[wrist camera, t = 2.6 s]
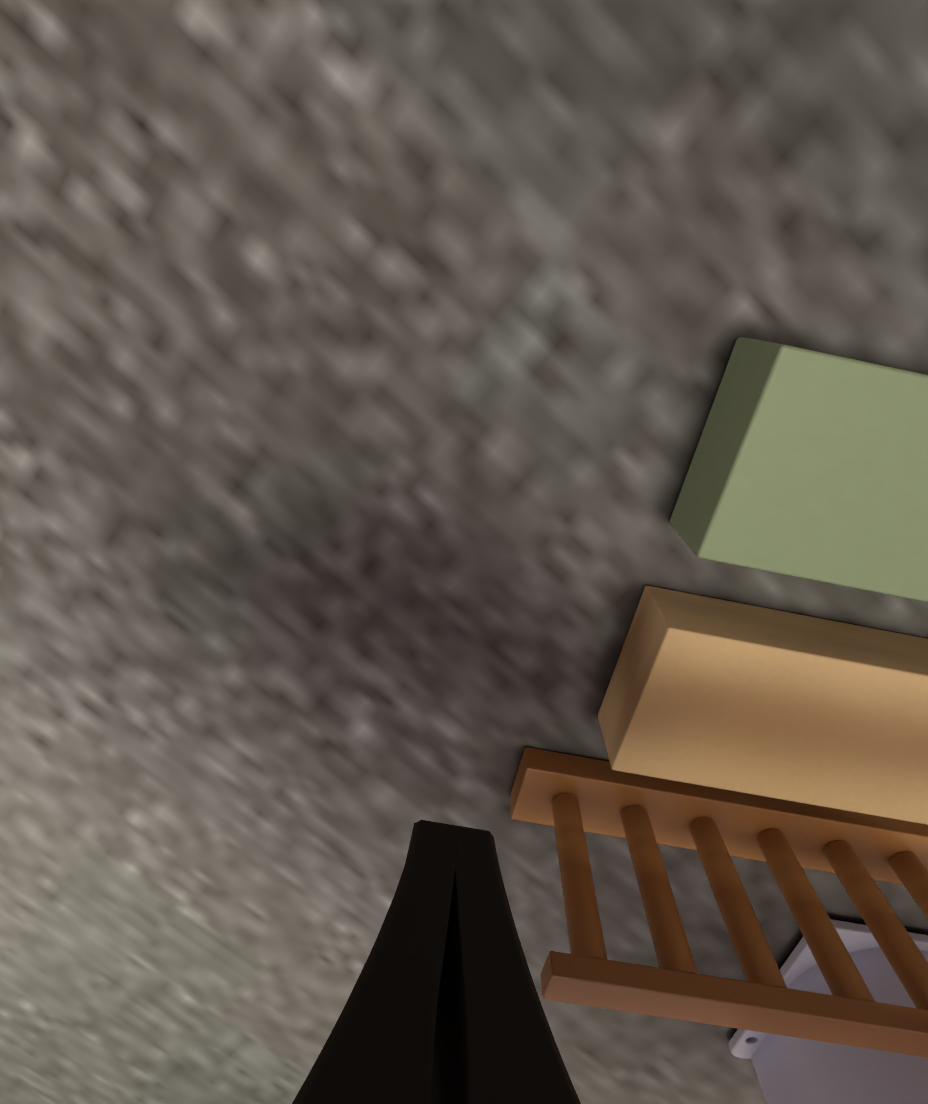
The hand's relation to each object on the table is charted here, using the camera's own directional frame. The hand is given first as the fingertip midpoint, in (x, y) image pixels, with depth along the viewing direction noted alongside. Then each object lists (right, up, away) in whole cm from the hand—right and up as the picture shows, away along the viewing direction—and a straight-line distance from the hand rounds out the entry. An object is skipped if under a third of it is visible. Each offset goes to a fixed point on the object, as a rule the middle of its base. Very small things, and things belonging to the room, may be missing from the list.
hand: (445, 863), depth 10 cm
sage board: (+13, +7, +5) cm, 16 cm away
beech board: (+12, +1, +8) cm, 14 cm away
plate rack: (+12, -4, +10) cm, 16 cm away
